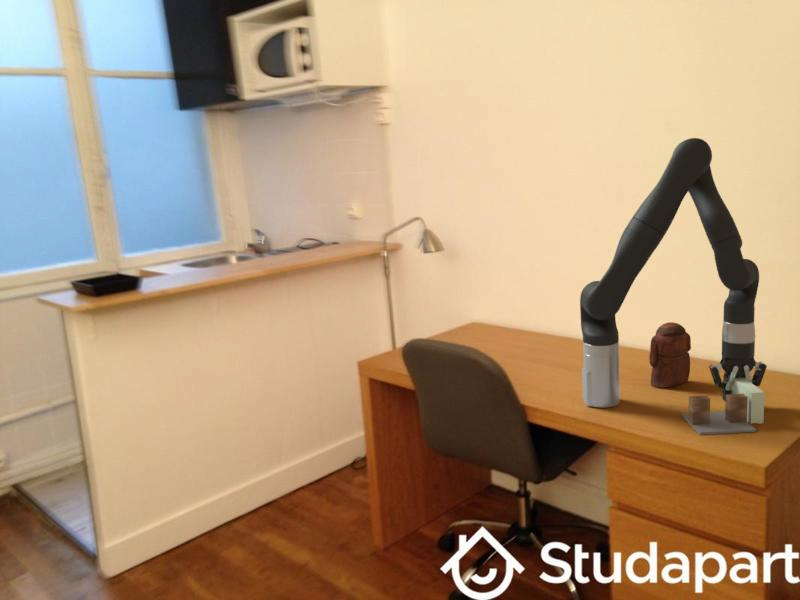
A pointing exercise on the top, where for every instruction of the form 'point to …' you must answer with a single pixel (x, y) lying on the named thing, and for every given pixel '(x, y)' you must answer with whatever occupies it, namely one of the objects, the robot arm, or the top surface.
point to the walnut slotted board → (733, 409)
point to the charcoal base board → (720, 425)
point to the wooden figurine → (670, 355)
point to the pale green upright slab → (750, 399)
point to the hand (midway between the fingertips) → (736, 401)
